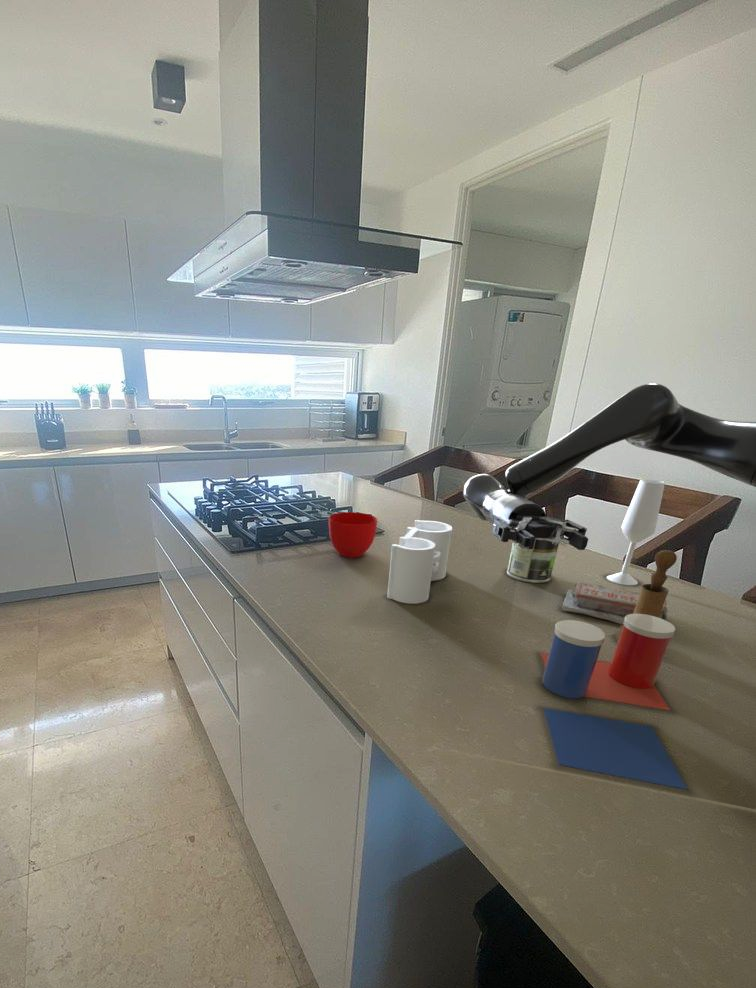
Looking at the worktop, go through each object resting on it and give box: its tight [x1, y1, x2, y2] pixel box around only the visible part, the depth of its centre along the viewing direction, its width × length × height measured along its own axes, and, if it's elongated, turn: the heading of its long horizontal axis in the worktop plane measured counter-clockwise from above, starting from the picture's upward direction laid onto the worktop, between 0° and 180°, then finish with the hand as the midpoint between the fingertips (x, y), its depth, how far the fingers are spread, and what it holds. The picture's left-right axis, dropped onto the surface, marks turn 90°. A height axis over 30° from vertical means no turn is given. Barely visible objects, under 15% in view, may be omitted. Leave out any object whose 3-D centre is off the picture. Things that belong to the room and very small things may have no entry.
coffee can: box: [506, 516, 563, 584], centre depth 118 cm, size 10×10×14 cm
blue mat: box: [543, 707, 689, 790], centre depth 64 cm, size 14×12×1 cm
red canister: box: [608, 614, 676, 689], centre depth 77 cm, size 7×7×10 cm
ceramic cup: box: [328, 511, 378, 559], centre depth 133 cm, size 13×17×10 cm
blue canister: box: [541, 619, 606, 699], centre depth 74 cm, size 7×7×10 cm
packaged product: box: [561, 581, 669, 625], centre depth 101 cm, size 18×5×10 cm
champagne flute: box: [606, 478, 666, 586], centre depth 114 cm, size 7×7×24 cm
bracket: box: [386, 519, 453, 605], centre depth 112 cm, size 25×10×12 cm, turn 154°
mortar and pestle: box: [615, 549, 678, 641], centre depth 86 cm, size 7×6×18 cm
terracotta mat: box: [540, 653, 671, 711], centre depth 78 cm, size 16×12×1 cm
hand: (558, 543), depth 78 cm, fingers open, 8 cm apart
